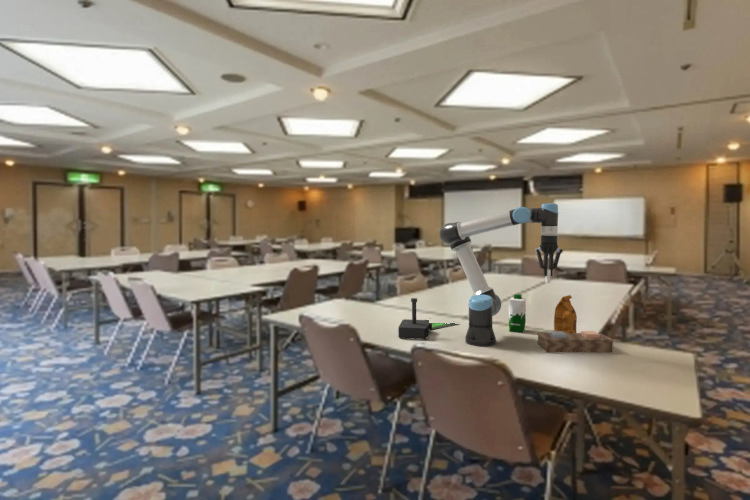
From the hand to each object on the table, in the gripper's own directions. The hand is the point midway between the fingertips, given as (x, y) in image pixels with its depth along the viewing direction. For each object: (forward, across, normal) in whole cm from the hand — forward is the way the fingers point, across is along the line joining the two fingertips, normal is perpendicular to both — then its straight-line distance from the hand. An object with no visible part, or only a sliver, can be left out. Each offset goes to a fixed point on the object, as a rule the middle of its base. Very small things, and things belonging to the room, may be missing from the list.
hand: (547, 282), depth 207 cm
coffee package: (+31, +14, +12) cm, 36 cm away
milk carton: (+31, -8, +25) cm, 41 cm away
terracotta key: (+28, +18, -8) cm, 34 cm away
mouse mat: (+32, -53, +40) cm, 74 cm away
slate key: (+28, +3, -9) cm, 29 cm away
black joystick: (+32, -65, +15) cm, 74 cm away
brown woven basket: (+30, +10, -8) cm, 33 cm away
